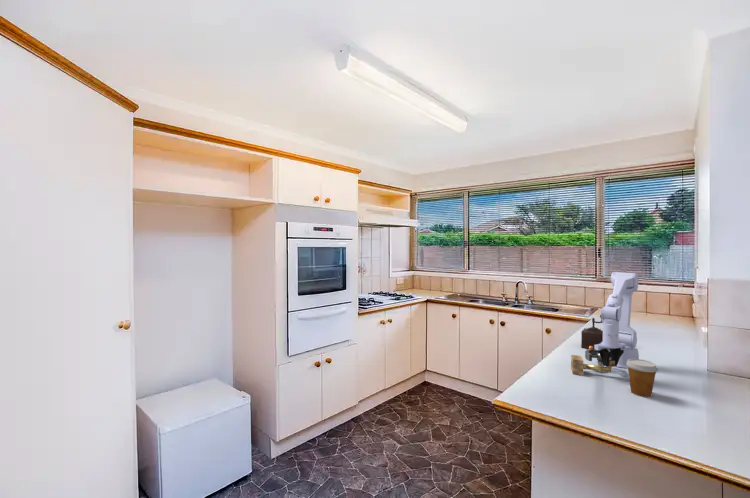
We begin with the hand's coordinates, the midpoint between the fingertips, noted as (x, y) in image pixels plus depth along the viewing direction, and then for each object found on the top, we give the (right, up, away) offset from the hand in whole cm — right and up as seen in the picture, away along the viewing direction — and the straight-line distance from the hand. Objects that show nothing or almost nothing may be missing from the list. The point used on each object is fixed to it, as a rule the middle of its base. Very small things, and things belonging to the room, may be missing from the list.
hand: (609, 365), depth 150 cm
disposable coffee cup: (+1, -5, -17) cm, 17 cm away
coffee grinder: (+21, -4, +43) cm, 48 cm away
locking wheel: (+2, 0, +9) cm, 9 cm away
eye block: (-11, -5, +5) cm, 13 cm away
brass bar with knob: (-4, -3, +2) cm, 5 cm away
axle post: (+1, -5, +8) cm, 9 cm away
